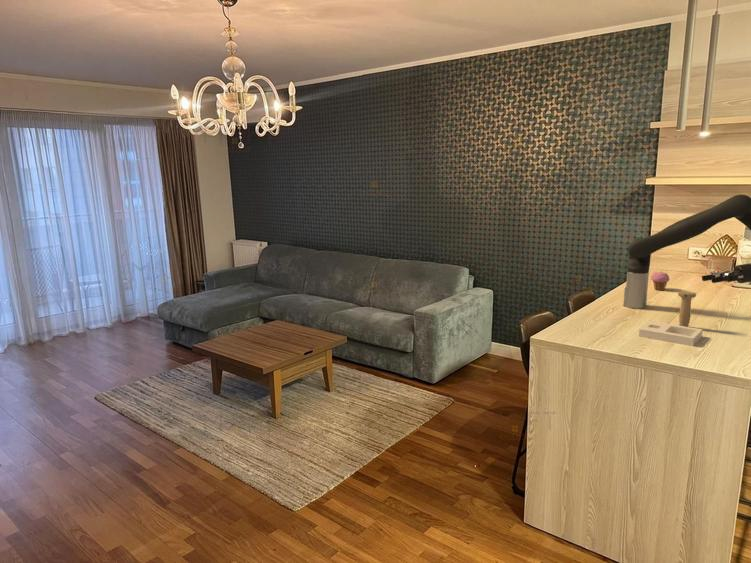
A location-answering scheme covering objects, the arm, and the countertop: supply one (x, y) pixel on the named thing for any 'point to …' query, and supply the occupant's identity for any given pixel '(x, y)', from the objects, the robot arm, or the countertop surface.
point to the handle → (685, 307)
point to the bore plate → (671, 333)
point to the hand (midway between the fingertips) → (707, 279)
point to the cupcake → (660, 280)
